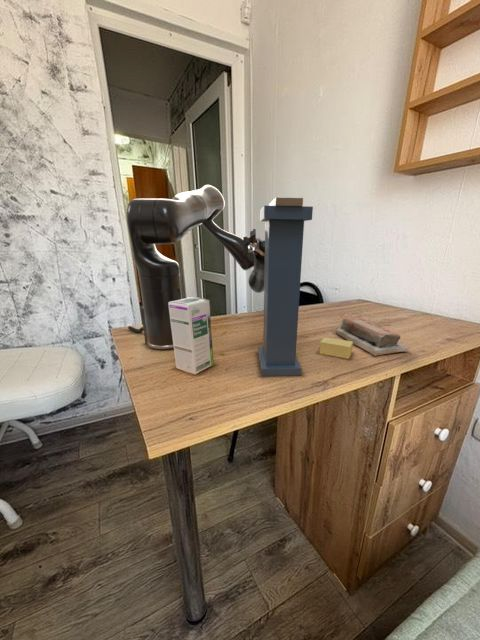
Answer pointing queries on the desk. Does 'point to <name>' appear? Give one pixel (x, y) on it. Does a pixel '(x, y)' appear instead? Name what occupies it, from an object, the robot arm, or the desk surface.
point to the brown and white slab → (287, 201)
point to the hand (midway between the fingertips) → (270, 232)
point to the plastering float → (370, 336)
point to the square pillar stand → (282, 287)
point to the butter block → (336, 347)
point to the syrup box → (191, 334)
